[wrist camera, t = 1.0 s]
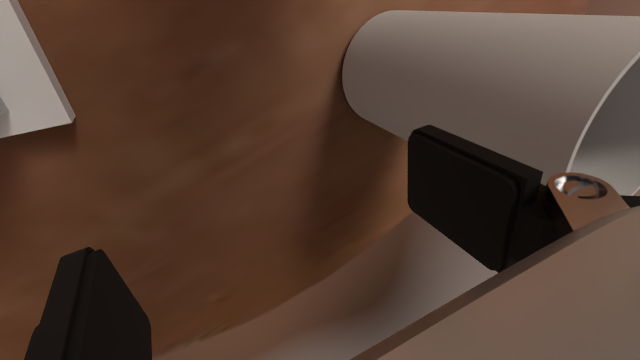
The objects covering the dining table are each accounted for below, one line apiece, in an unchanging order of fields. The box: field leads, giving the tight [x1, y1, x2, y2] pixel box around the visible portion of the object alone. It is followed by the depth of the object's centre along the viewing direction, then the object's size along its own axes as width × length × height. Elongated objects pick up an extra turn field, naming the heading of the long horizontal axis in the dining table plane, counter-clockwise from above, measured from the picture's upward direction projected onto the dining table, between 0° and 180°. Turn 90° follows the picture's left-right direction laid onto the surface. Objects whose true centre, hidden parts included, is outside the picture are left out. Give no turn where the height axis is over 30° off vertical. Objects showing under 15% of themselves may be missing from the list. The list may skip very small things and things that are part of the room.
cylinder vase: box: [342, 10, 640, 196], centre depth 29 cm, size 12×12×25 cm
